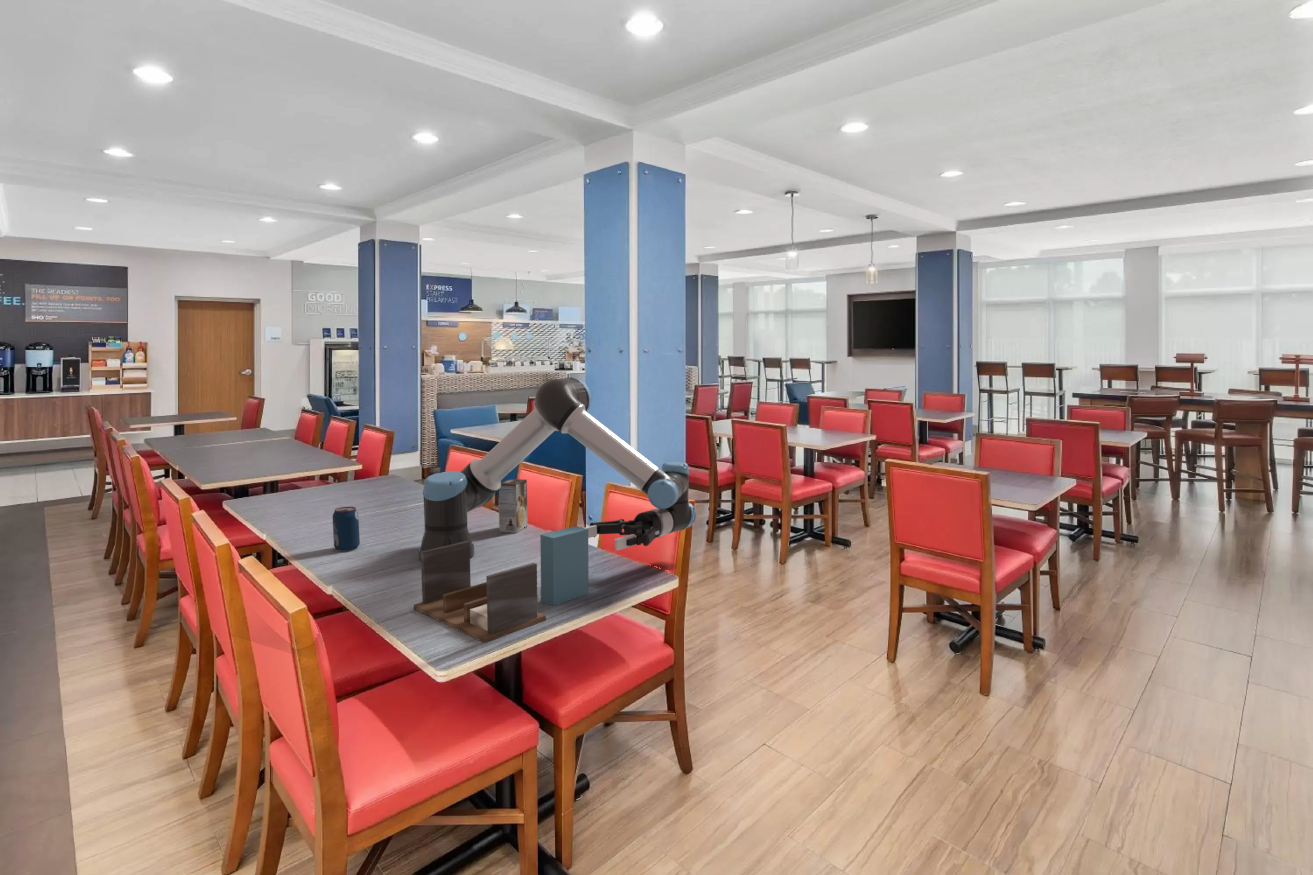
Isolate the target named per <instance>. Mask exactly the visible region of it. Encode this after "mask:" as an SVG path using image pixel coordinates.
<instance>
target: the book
mask: <svg viewBox="0 0 1313 875" xmlns="http://www.w3.org/2000/svg"><path fill="white" fill-rule="evenodd" d="M539 538H540V601H541V602H543V603H546V604H548V605H551V606H554V607H555V606H556V605H560V604H562V603H565V602H568V601H570V600H573V599H577V598H579V597H583V596H584V595H588V594H589V538H588V529H586V527H581V526H577V525H575V526H571V527H567V528H566V527H565V528H561V529H558V530H554V531H549V532H545V533H541V534H540V537H539Z"/></svg>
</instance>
